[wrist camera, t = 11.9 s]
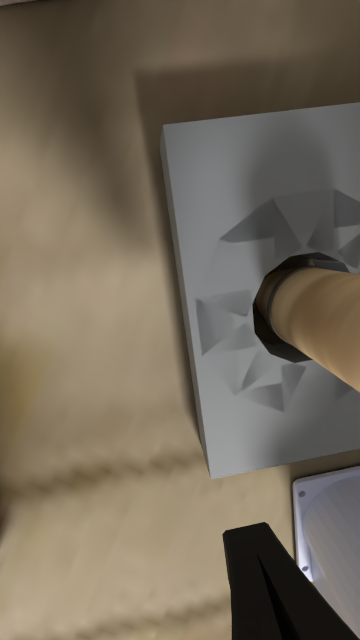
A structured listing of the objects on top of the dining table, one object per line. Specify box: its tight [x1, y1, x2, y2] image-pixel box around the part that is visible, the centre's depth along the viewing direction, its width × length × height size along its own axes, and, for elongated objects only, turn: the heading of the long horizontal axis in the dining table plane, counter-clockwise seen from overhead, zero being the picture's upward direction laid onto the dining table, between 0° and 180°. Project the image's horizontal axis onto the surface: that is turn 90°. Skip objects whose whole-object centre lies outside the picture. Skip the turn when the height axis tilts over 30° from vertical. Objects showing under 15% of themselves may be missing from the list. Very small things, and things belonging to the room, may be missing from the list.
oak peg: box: [256, 266, 360, 392], centre depth 14 cm, size 4×4×9 cm
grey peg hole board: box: [159, 102, 360, 479], centre depth 17 cm, size 18×16×3 cm
